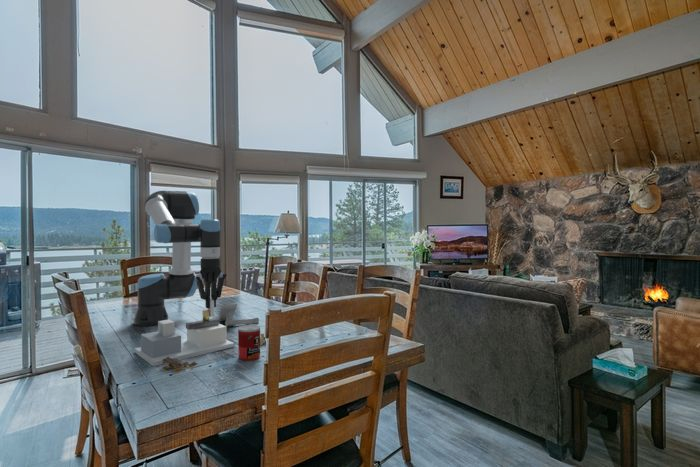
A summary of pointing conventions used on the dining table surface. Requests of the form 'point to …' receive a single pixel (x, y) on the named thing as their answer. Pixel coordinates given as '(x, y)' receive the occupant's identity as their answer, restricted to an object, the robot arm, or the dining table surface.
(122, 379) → the dining table surface
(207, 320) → the bolt
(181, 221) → the robot arm
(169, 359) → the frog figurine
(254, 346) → the canned food
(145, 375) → the dining table surface
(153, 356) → the white stepped platform
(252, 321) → the door handle
